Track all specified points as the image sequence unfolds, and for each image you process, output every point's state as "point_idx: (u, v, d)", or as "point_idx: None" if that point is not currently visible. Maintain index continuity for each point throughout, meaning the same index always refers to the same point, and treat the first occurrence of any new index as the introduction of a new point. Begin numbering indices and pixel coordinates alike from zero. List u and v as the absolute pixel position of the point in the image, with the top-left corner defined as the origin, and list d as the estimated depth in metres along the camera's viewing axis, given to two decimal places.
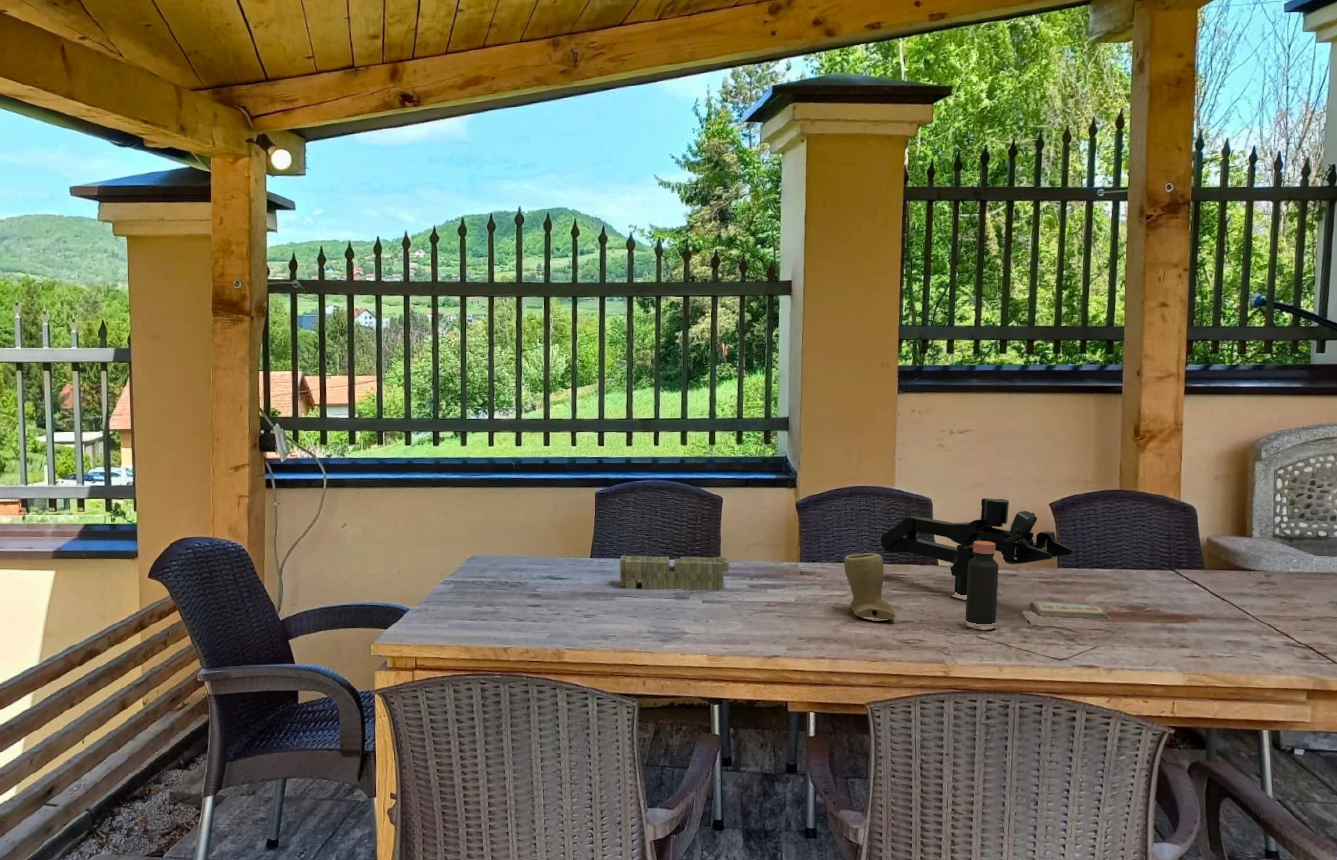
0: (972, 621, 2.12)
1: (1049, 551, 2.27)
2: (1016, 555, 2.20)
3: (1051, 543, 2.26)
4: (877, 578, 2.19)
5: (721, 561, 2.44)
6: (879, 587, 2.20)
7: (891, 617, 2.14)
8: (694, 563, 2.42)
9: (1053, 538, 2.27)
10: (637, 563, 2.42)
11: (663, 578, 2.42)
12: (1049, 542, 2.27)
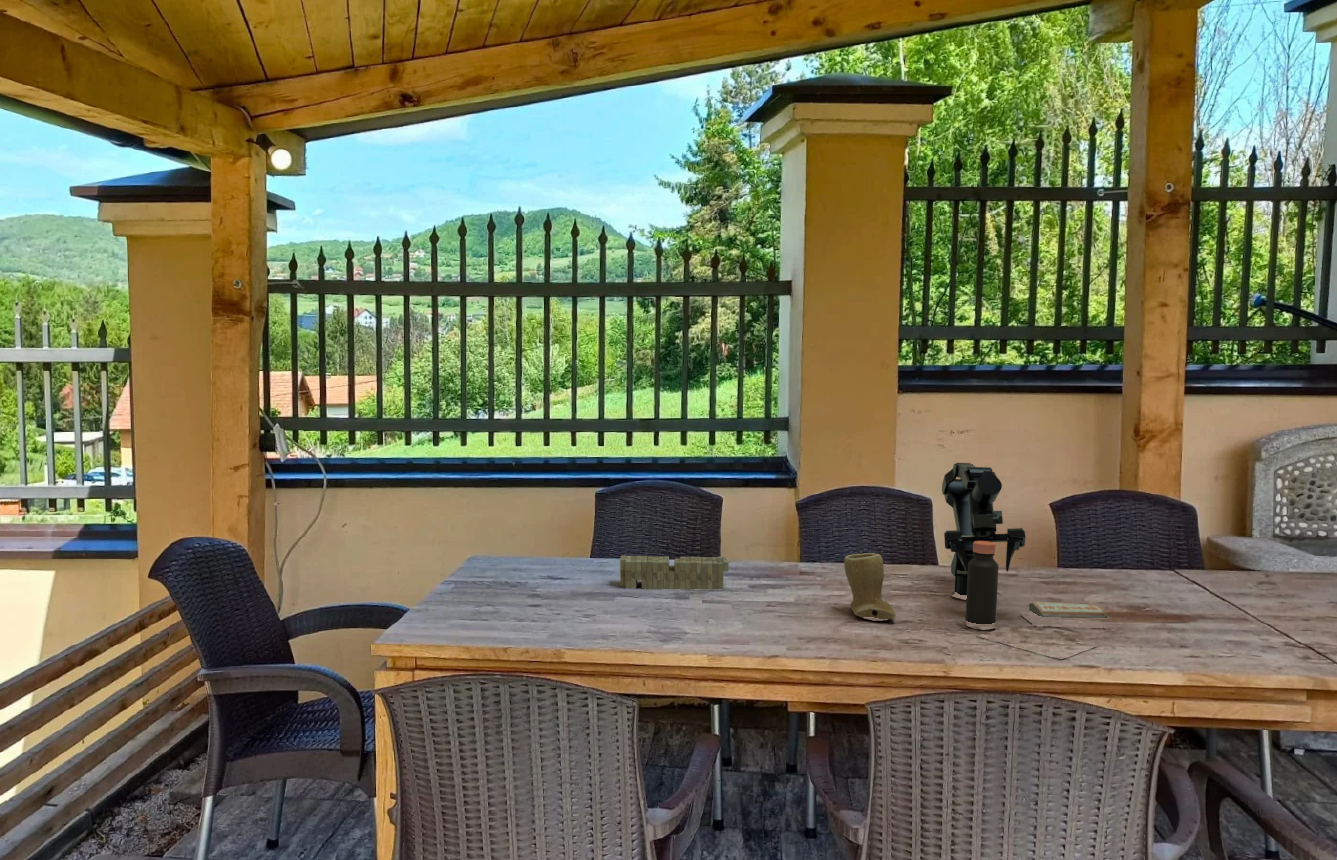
0: (972, 621, 2.12)
1: None
2: (950, 547, 2.26)
3: None
4: (877, 578, 2.19)
5: (721, 561, 2.45)
6: (879, 587, 2.20)
7: (891, 617, 2.14)
8: (694, 563, 2.42)
9: (1011, 544, 2.20)
10: (637, 563, 2.42)
11: (663, 577, 2.42)
12: None
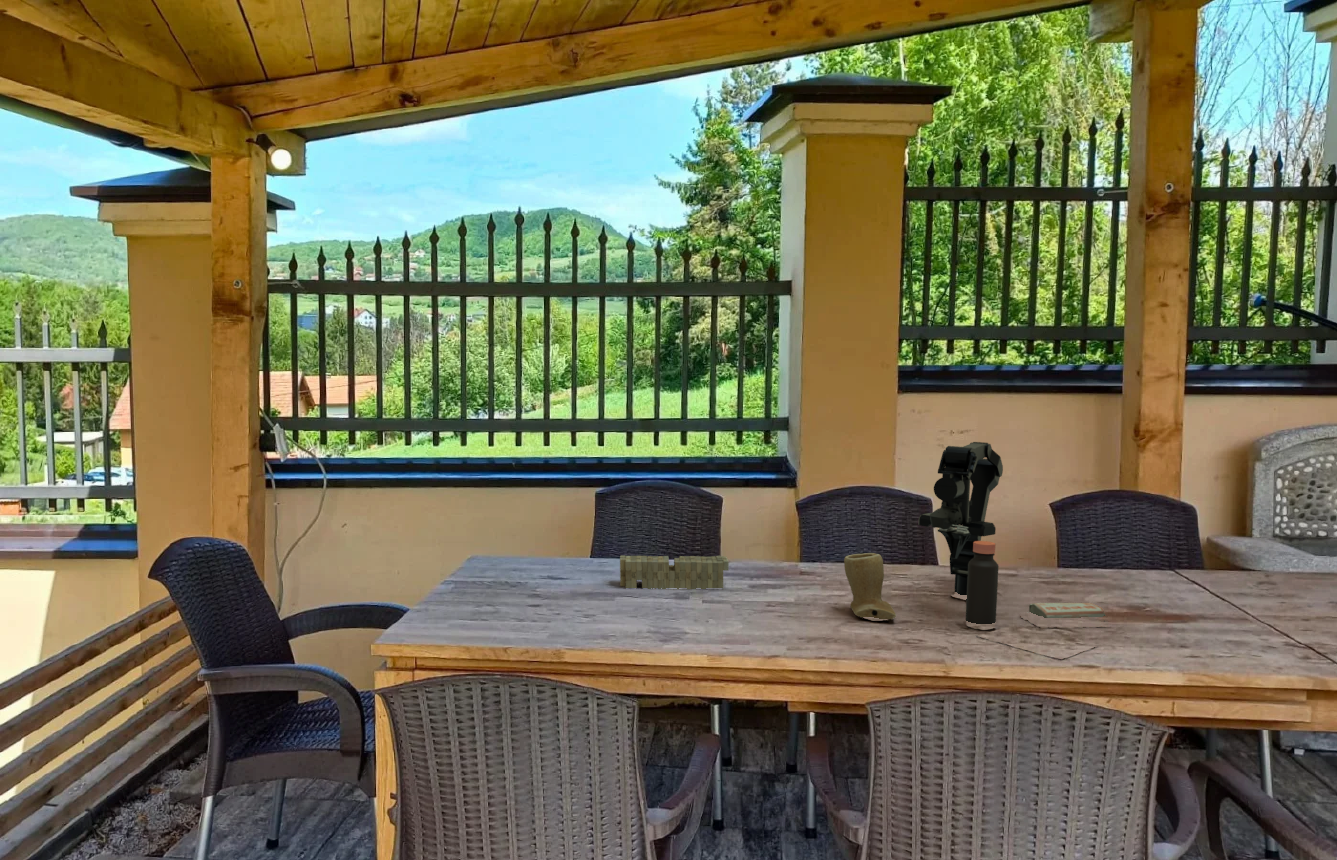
0: (972, 621, 2.12)
1: None
2: None
3: None
4: (877, 578, 2.19)
5: (721, 560, 2.46)
6: (879, 587, 2.20)
7: (891, 617, 2.14)
8: (694, 562, 2.43)
9: (956, 537, 2.25)
10: (637, 563, 2.42)
11: (663, 577, 2.43)
12: None
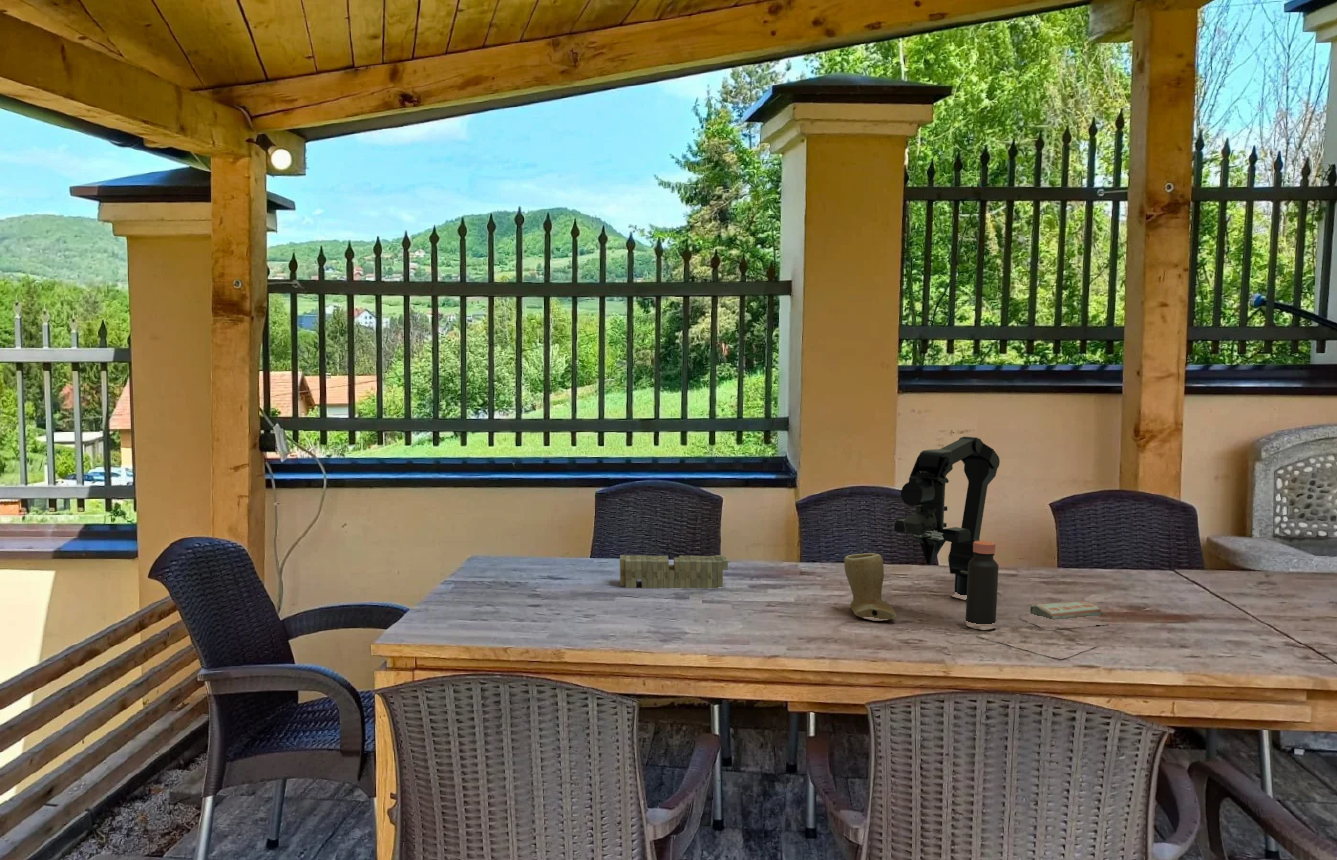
0: (972, 621, 2.12)
1: None
2: None
3: None
4: (877, 578, 2.19)
5: (720, 559, 2.46)
6: (879, 587, 2.20)
7: (891, 617, 2.14)
8: (694, 562, 2.44)
9: (931, 543, 2.22)
10: (637, 562, 2.43)
11: (663, 576, 2.43)
12: None
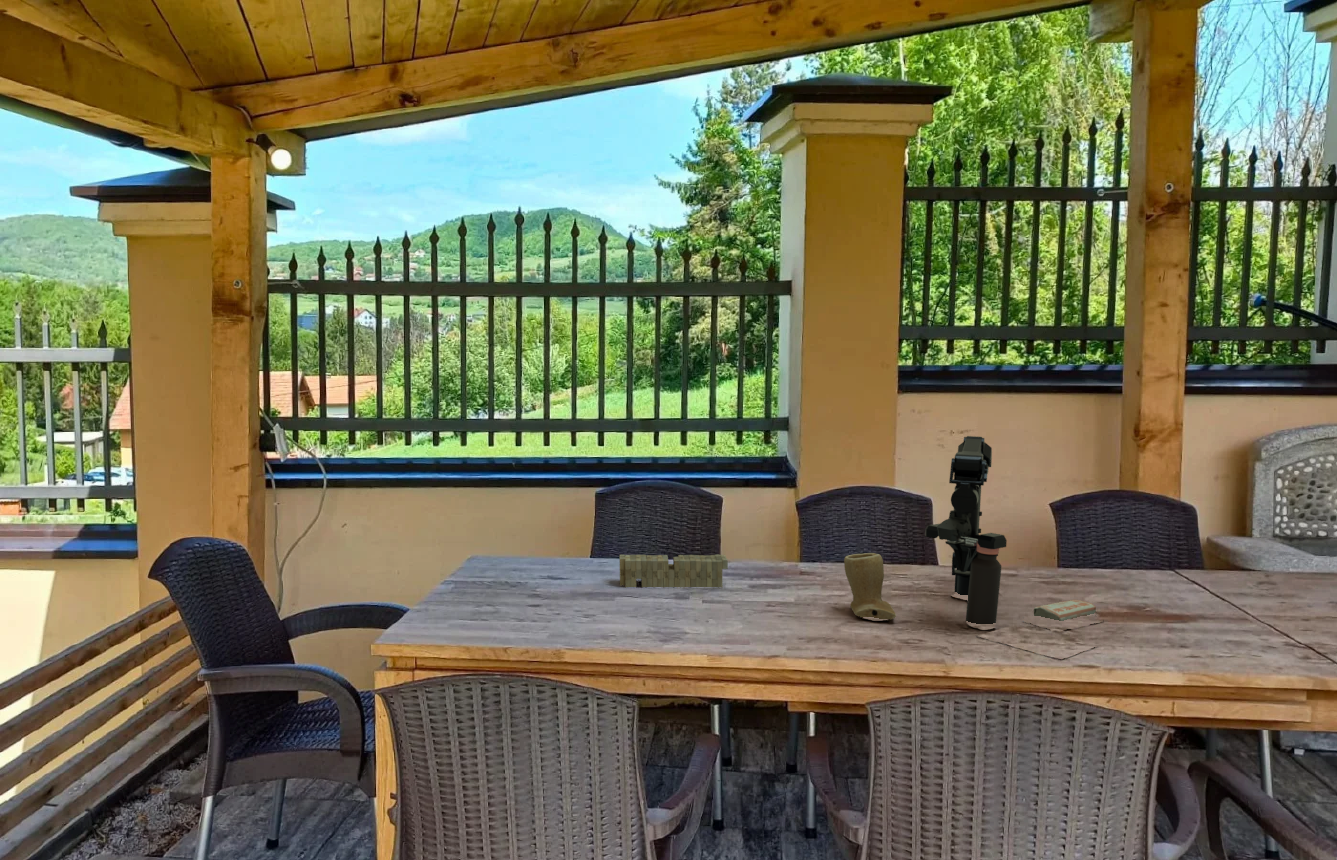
0: (973, 620, 2.12)
1: None
2: None
3: None
4: (877, 578, 2.19)
5: (720, 559, 2.47)
6: (879, 587, 2.20)
7: (891, 617, 2.14)
8: (694, 561, 2.44)
9: (965, 549, 2.14)
10: (637, 562, 2.43)
11: (663, 576, 2.44)
12: None
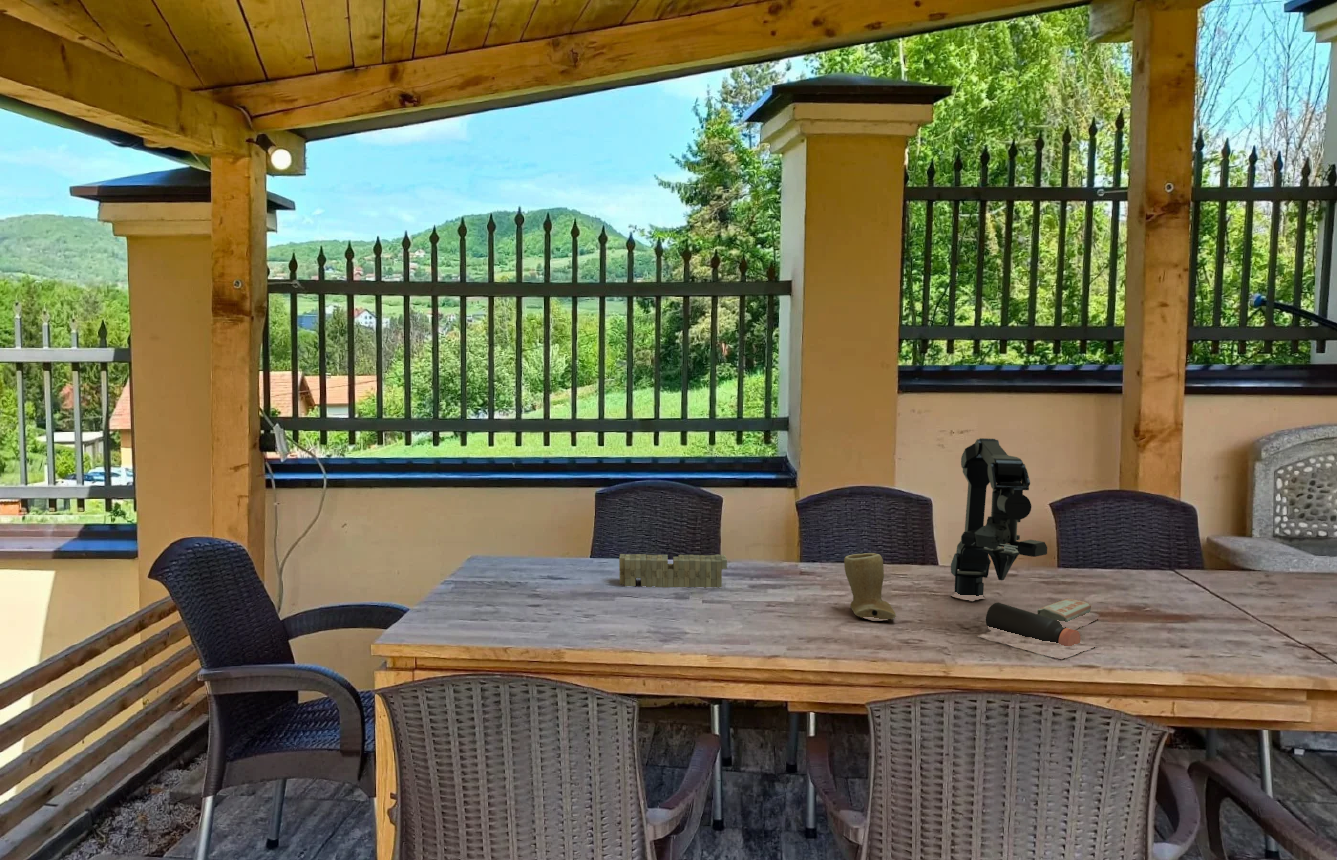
0: (991, 621, 2.08)
1: None
2: None
3: None
4: (877, 578, 2.19)
5: (719, 559, 2.47)
6: (879, 587, 2.20)
7: (891, 617, 2.14)
8: (693, 561, 2.45)
9: (1003, 557, 2.06)
10: (636, 561, 2.44)
11: (662, 575, 2.45)
12: None
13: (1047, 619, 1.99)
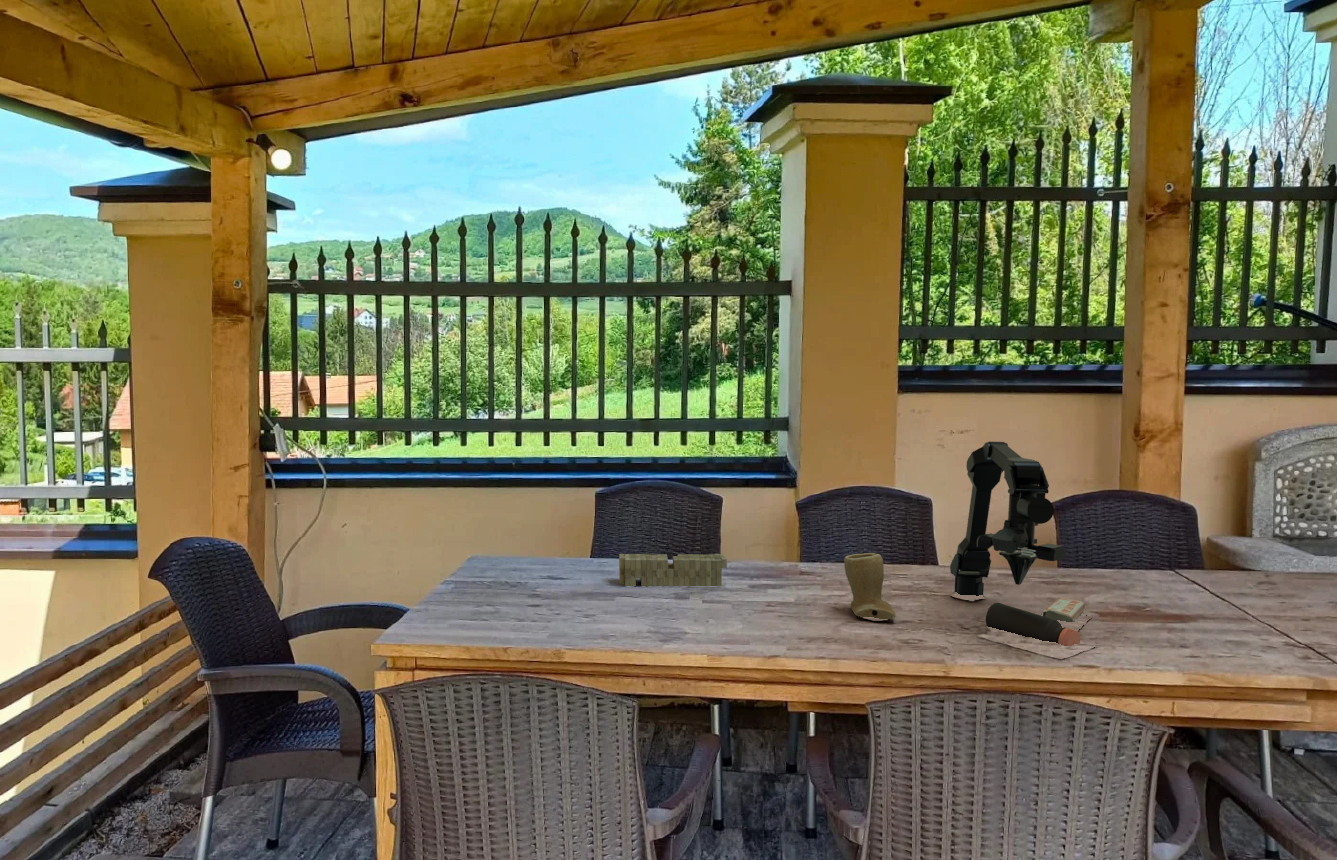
0: (991, 622, 2.07)
1: None
2: None
3: None
4: (877, 578, 2.19)
5: (719, 558, 2.48)
6: (879, 587, 2.20)
7: (891, 617, 2.14)
8: (693, 560, 2.45)
9: (1021, 561, 2.03)
10: (637, 561, 2.44)
11: (662, 575, 2.45)
12: None
13: (1047, 619, 1.99)
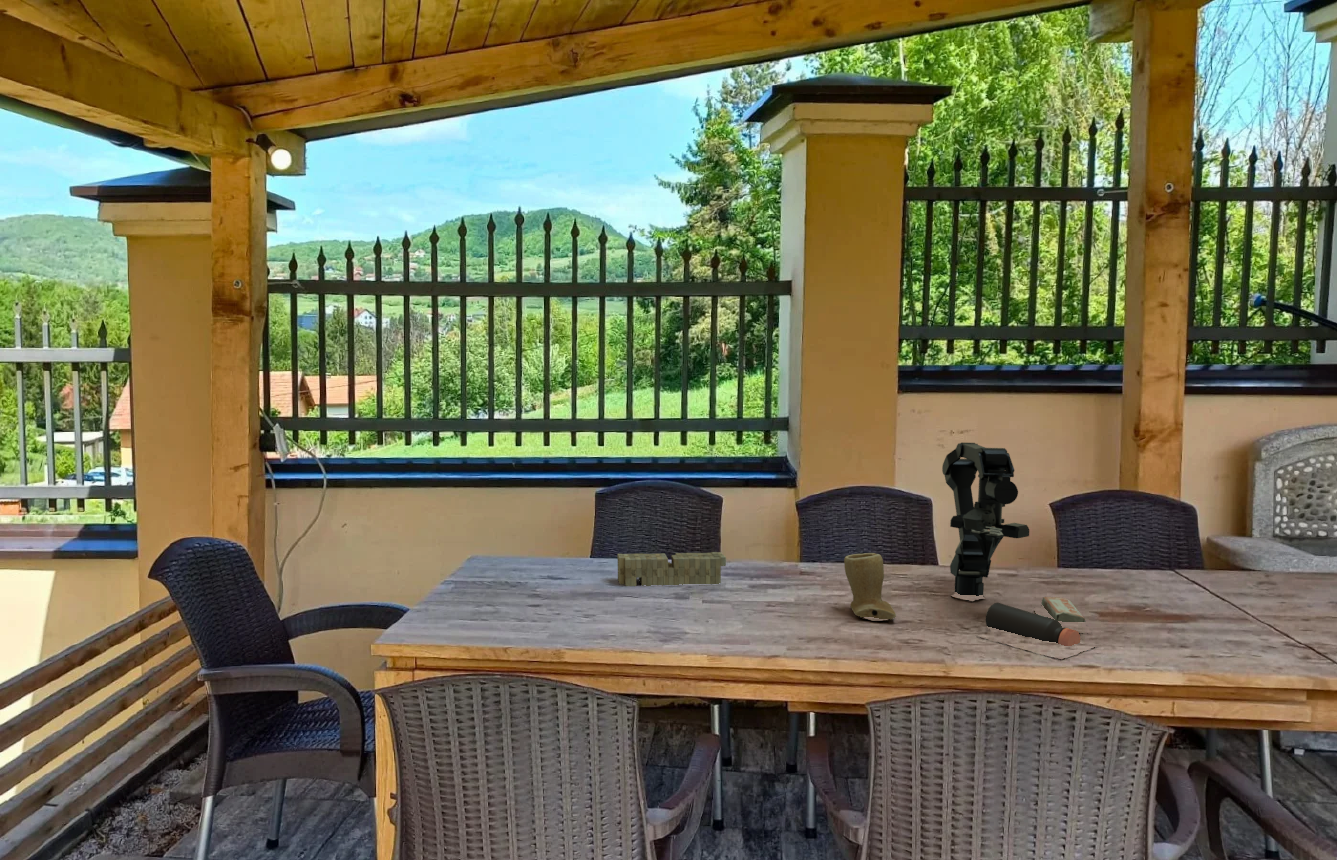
0: (991, 622, 2.07)
1: None
2: None
3: None
4: (877, 578, 2.19)
5: (717, 556, 2.51)
6: (879, 587, 2.20)
7: (891, 617, 2.14)
8: (693, 559, 2.47)
9: (989, 539, 2.24)
10: (637, 560, 2.45)
11: (663, 574, 2.46)
12: None
13: (1047, 619, 1.99)
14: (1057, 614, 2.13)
